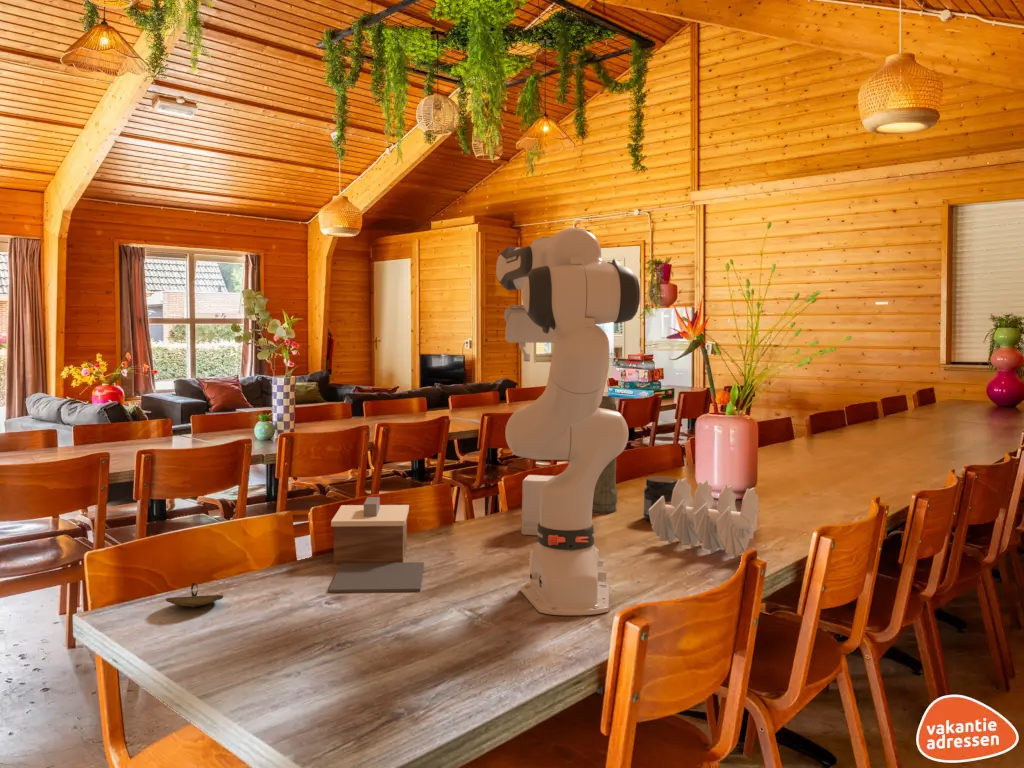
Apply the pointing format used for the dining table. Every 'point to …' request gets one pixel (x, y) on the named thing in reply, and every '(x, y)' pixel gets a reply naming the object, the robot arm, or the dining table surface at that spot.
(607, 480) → the thermos
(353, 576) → the mat
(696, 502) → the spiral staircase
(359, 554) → the crate
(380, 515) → the lid panel
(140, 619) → the dining table surface
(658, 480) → the supplement container
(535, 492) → the supplement box
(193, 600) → the lid
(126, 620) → the dining table surface
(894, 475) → the dining table surface
